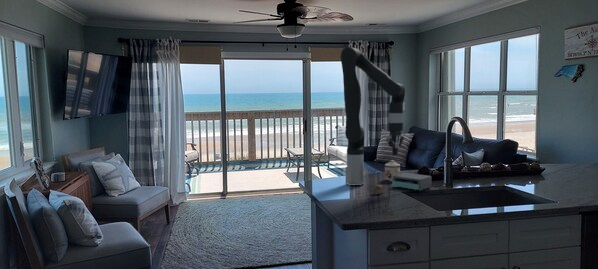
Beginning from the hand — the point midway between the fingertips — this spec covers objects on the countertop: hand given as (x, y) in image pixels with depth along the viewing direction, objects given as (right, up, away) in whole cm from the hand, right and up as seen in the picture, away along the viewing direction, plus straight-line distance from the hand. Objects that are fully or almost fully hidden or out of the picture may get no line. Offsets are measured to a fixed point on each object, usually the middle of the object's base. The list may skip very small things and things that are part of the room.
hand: (395, 154), depth 217 cm
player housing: (+10, -17, +5) cm, 21 cm away
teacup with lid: (+5, -16, +23) cm, 29 cm away
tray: (+9, -17, +4) cm, 19 cm away
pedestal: (-10, -19, -9) cm, 23 cm away
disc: (+9, -16, +3) cm, 18 cm away
